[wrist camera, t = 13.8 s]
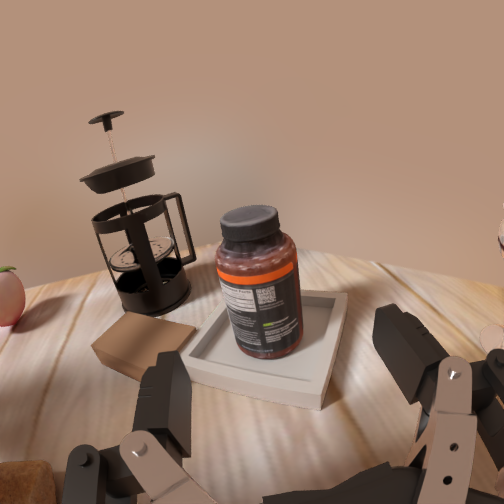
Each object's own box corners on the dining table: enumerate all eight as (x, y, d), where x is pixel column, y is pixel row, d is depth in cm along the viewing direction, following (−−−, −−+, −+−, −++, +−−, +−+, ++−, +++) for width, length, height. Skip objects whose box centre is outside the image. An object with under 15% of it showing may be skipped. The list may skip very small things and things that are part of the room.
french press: (124, 331, 30) (55, 123, 20) (114, 296, 37) (64, 133, 27) (215, 292, 34) (170, 92, 25) (188, 266, 42) (151, 107, 32)
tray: (179, 376, 23) (172, 361, 22) (238, 298, 32) (234, 283, 31) (320, 410, 18) (320, 395, 17) (347, 309, 27) (347, 292, 26)
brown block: (101, 363, 25) (90, 345, 24) (136, 329, 30) (128, 311, 29) (167, 393, 21) (156, 373, 20) (202, 347, 26) (195, 326, 25)
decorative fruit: (7, 347, 27) (-27, 286, 23) (-9, 336, 30) (-38, 282, 26) (46, 311, 35) (19, 253, 31) (25, 305, 38) (1, 254, 34)
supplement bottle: (272, 309, 28) (255, 196, 24) (318, 334, 24) (311, 206, 19) (222, 339, 25) (191, 219, 20) (265, 374, 21) (240, 236, 16)
